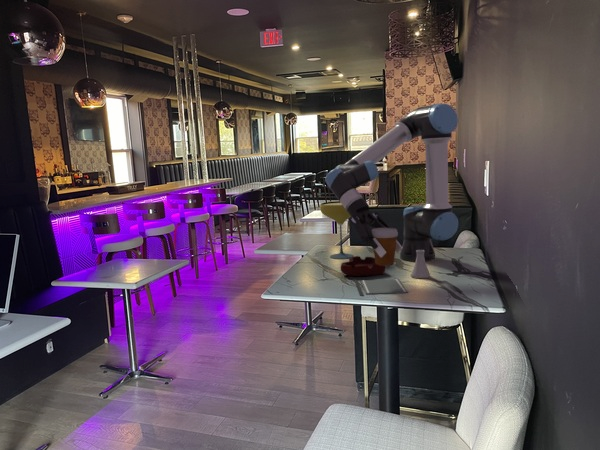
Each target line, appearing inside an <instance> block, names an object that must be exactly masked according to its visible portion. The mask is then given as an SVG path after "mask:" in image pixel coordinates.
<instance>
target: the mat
mask: <svg viewBox="0 0 600 450" xmlns="http://www.w3.org/2000/svg"><path fill="white" fill-rule="evenodd" d="M360 283H361V286H362V288H363V291H364V293H365V295H386V294H408V293H409V291H408V290H407V289H406V288H405V286H404V284H403V283H402V282H401V280H400V279H399V278H393V279H369V280H365V279H363V280H360Z"/></svg>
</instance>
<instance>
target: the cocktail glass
mask: <svg viewBox="0 0 600 450" xmlns="http://www.w3.org/2000/svg"><path fill="white" fill-rule="evenodd" d="M319 208H320V212H321V213H322V215H324V216H325V217H328V218H329V219H332V220H334V222H336V223H337V224H338V226H339V232H340V233H339V236H340V238H339V239H340V241H339V243H340V248H339V249H340V250H339V252H338V253H334V254H331V255H329V258H330V259H334V260H347V259H349V258H351V257H354V255H353V254H352V253H344V251H343V249H344V248H343V237H342V235H343V233H342V232H343V231H342V226H343V225H344V223H345V222H346V221H348V220H349V219H350V218H352V217H351V216H350V215H349V213H348V212H347V210H346V209H345V208H344V206H343V205H342V204H341V202H340V201H339V200H337V201H336V200H335V201H326V202H321V203H320V206H319Z"/></svg>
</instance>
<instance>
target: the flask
mask: <svg viewBox="0 0 600 450" xmlns="http://www.w3.org/2000/svg"><path fill="white" fill-rule="evenodd" d="M416 252H417V258H416V261H414V262H415V263H414V265H413V268H412V272H411V274H410V277H411V278H413V279H414V278H415V279H428V278H430V277H431V273H430V271H429V268H428V265H427V263H426V261H425V259H424V252H425V251H424V250H416Z"/></svg>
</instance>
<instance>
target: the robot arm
mask: <svg viewBox="0 0 600 450" xmlns="http://www.w3.org/2000/svg"><path fill="white" fill-rule="evenodd" d="M458 122H459V118H458V113H457V111H456V110H455V109H454V108H453V106H452V105H450V104H447V103H436V104H435V103H434V104H431V105H426V106H420V107H417V108H416V109H413V110H412V111H410V112H409V113H408V114H406V115H405V116H403V117H402V118H401V119H399V120H397V122H395V124H394V127H393V128H392V129H390V130H389V131H387V132H386V133H384V134H383V135H382V136H380V137H379V138H378V139H376V140H375V141H374V142H372V143H370V145H368V146H367V147H365V148H364V149H363V150H361V152H358V154H356V155H355V156H353V157H352V158H351V159H349V160H347V162H345V163H341V164H339V165H337V166H336V167H335V168H334V169H332V170H330V171H329V172H328V173H326V176H325V179H324V180H325V183H326V185H327V187H328V188H329V190H330V191H331V192H332V194H333V195H335V197H336V199H337V201H340V202H341V204H342V205H343V206H344V208H345V209H346V210H347V212H348V213H349V215H350V216H351V217H350V218H351V219H350V220H349V221H350V222H351V224H352V225H353V226H354V228H355V231H356V232H357V234H358V236H359V238H360V239H361V241H362V242H363V243H365V244H366V245H368V244H369V245H370V246H371V247H372V249H373V251H374V250H375V251H376V252H377V254H378V255H379V256H380V258H382V257H383V256H384V255H385V254H386V253H387V252H386V251H385V250H384V248H383V247H382V246H381V245H380V243H379V242H378V241H377V239H376V238H373V236H372V233H371V231H372V229H371V228H373V229H375V228H393V227H392V225H391V226H390V225H389V223H388V222H387V221H386V220H385V219H384V218H382V217H381V215H380V214H379V212H378V211H375V212H374V213H373V212H372V211H370V205H369V203H368V202H367V201H366V199H364V198H363V196H362V194H361V193H360V192H359V191H358V190H357V189H359V188H360V187H362V186H364V185H366V184H368V183H370V182H372V181H374V180H375V179H377V178H378V177H379V170H378V166H377V163H379V162H380V161H382V159H384V158H385V157H386V156H388V155H389V154H391V153H392V152H394V151H395V150H396V149H398V148H399V147H400V146H401V145H403V144H405V142H406V143H409V142H411V141H412V140H413V139H415V138H418V137H420V139H421V141H422V142H423V143H424V145H425V196H426V197H425V198H426V200H425V201H426V202H425V204H424V205H421V206H410V207H405V208H404V209H403V215H402V217H403V242H402V245H401V243H400V242H399V241H398V239H397V240H396V248H395V253H396V254H399V258H400V259H401V260H403V261H409V262H416V258H417V252H416V250H424V251H425V252H424V259H425V262H429V261H433V260H435V259H436V251H435V249H434V246H433V242H432V240H436V241H446V240H449V239H451V238H452V237H453V236H454V235H455V234H456V233H457V231H458V228H459V219H458V217H457V215H456V214H455V213H453V205H451V204H450V203H449V158H448V157H449V155H448V152H449V150H448V149H449V147H448V146H449V145H448V144H449V142H450V141H451V139H452V137H453V136H452V134H453V132H454V131H455V129H456V128H457V126H458V124H459V123H458ZM370 227H371V228H370Z"/></svg>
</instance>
